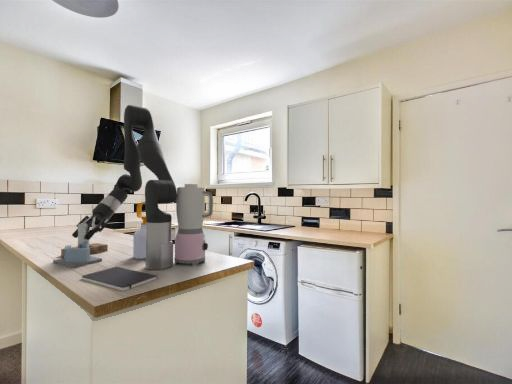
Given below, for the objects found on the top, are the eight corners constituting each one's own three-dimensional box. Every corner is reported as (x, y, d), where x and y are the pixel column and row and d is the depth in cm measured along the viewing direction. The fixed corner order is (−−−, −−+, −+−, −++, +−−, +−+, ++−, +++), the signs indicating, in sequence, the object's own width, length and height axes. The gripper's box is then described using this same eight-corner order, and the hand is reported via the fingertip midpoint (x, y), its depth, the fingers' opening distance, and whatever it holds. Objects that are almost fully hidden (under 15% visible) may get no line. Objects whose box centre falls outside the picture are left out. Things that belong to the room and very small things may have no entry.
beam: (97, 249, 131) (97, 242, 131) (107, 250, 127) (107, 244, 127) (61, 255, 117) (61, 249, 117) (71, 258, 113) (71, 251, 113)
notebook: (157, 280, 88) (116, 270, 98) (157, 275, 88) (116, 266, 98) (123, 292, 77) (80, 280, 87) (123, 287, 77) (80, 275, 87)
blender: (168, 265, 104) (169, 183, 104) (182, 257, 116) (183, 184, 116) (206, 268, 101) (207, 183, 101) (217, 260, 113) (218, 184, 113)
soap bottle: (150, 259, 113) (151, 201, 113) (129, 259, 113) (130, 201, 113) (158, 254, 122) (159, 200, 122) (139, 254, 122) (139, 200, 122)
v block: (102, 261, 109) (102, 246, 109) (74, 267, 99) (74, 251, 99) (81, 256, 116) (81, 242, 116) (52, 262, 106) (52, 247, 106)
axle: (91, 257, 110) (91, 223, 110) (81, 259, 107) (81, 224, 107) (85, 256, 112) (85, 223, 112) (75, 258, 109) (75, 224, 109)
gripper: (91, 201, 119) (62, 230, 109) (111, 202, 113) (83, 233, 103) (102, 212, 124) (76, 241, 114) (123, 214, 118) (97, 244, 107)
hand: (79, 237), depth 108 cm, fingers open, 8 cm apart
